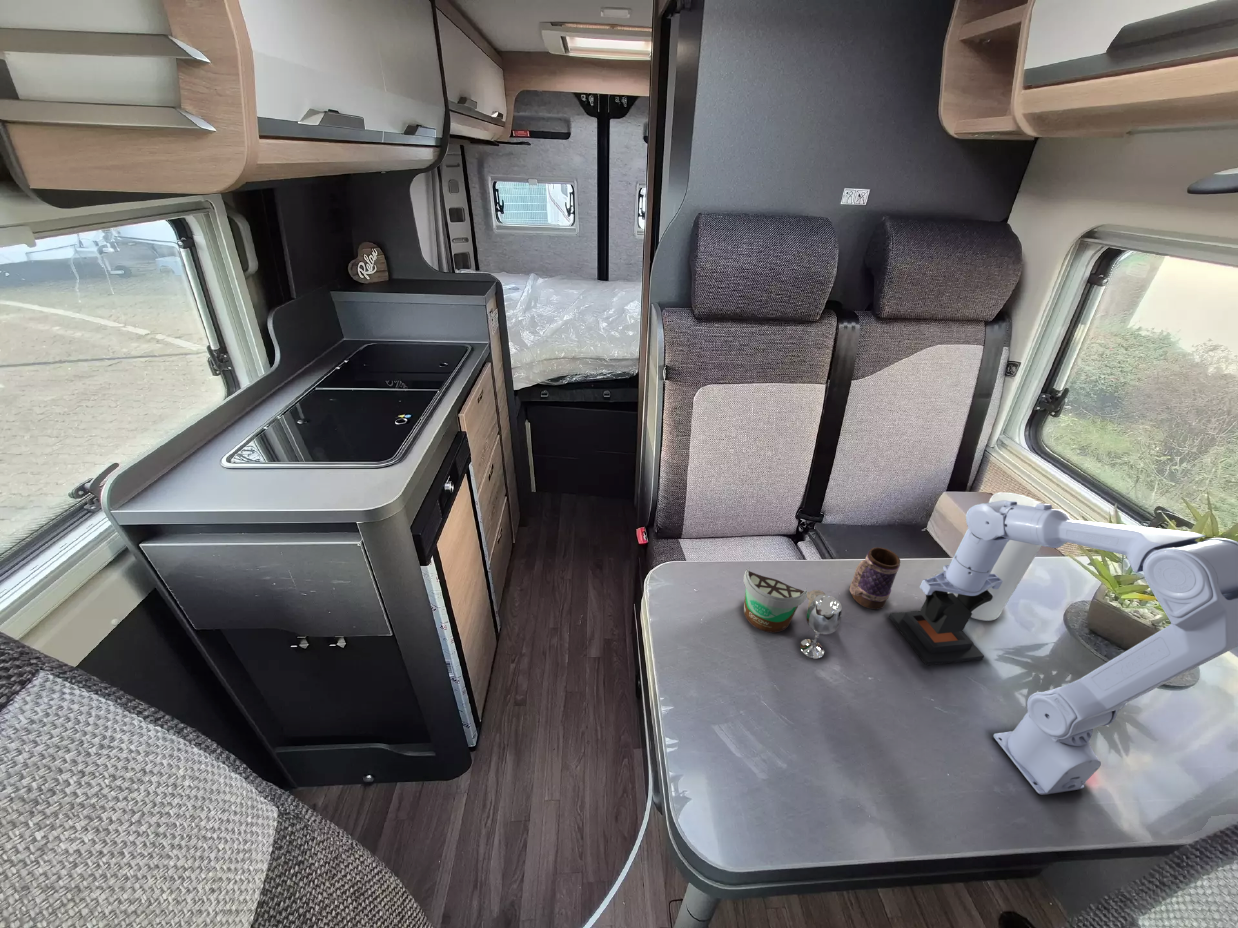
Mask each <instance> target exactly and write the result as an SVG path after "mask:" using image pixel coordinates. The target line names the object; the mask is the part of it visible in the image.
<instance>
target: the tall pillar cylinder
mask: <svg viewBox="0 0 1238 928" xmlns="http://www.w3.org/2000/svg"><path fill="white" fill-rule="evenodd" d="M1002 500H1007V501H1016V502H1017V504H1018V505H1026V506H1034V507H1036V505H1038V504H1043V502H1041V501H1038V500H1037V499H1034V498H1031V497H1029V496H1026V495H1023V494H1019V493H1015V492H1008V491H1005V492H1004V491H1000V492H996V493H994V494H992V495H991V497H990V498H989V501H988V503H989V502H995V501H1002ZM1041 548H1042V546H1040V545H1035V544H1030V543H1024V542H1019V541H1014V540H1009V542H1007V544H1006V546H1005V548H1004V549H1003V551H1002V553H1001V555H1000V556H999V558H998V560H997V562H996V564H995V565H994V567H993V569H992V571H991V573H990V574H996V575H997V576H998V577H999V578H1000V579H1001V580H1002V581H1003V582H1002V584H1001V585H1000V587H999V589H993V588H992V587H991V588H989V589H988V591H989V592H990V593H991V594H992V596H993V598H992V600H991V601H989V602H986V603H984V604H982V605H980V606H978V607H977V608H976V609H974V610H973V611H972V612H971V613H972V615H971V617H970V618H972V619H976V620H979V621H987V622H988V621H994V620H996V619H998V618H999V617H1000V616H1001V614H1002V612H1003V611H1004V609H1005V607H1006V606H1007V605H1008V603H1009V601H1010V599H1011V598H1012V596H1013V594H1014V593H1015V591H1016V589H1017V588H1018V586H1019V584H1020V582H1021V581H1022V579H1023V578H1024V576H1025V574H1026V572H1027V571H1028V570H1029V568H1030V566H1031V564H1032V563H1033V561H1034V559H1035V558H1036V556H1037V555H1038V553H1039V551H1040V549H1041ZM948 593H950V592H948ZM953 594H954V595H955V596H956V597H957V596H958V594H956V593H953Z"/></svg>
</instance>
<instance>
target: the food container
mask: <svg viewBox="0 0 1238 928" xmlns="http://www.w3.org/2000/svg"><path fill="white" fill-rule="evenodd" d="M743 584H744V586H745V593H744V603H743V615H744V616H745V618H746V620H747V621H748V623H750V624H751V626H753V627H754V628H756V629H758V630H759V631H763V632H767V633H779V632H782V631H783V632H784V630H786V629H787V628H788V627H789V626H790V624H791V622H792V620H793V618H794V616H795V614H796V612H797V610H798V608H799V606H801V605H802V604H803V603H804V602H805V601H806V600H807V599H808V598H807V592H808V590H807V588H805V589H804V590H802V589H800V588H796V587H793V586H791V585H789V584H786V583H785V582H783V581H780V580H778V579H776V578H772V577H768V576H764V575H761V574H759V573H755V572H753V571H750V567H747V569H746V570H745V572H744V574H743Z"/></svg>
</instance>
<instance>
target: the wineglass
mask: <svg viewBox="0 0 1238 928" xmlns="http://www.w3.org/2000/svg"><path fill="white" fill-rule="evenodd" d="M842 608H843V607H842V604H841V602H840V601H839V600H838V599H837V598H835V597H834V596H832V595H829V594H826V595H824V594H822V595H818V596H816V598H815V599H814V600H813V601H812V603H811V604H810V606H809V608H808V607H807V610H806V615H805V620H806V623H807V625H808V627H809V628H810V629H811V630H812V631H813V632H814V639H811V638H806V639H802V640H801V641H800V643H799V648H800V651H801V652H802V653H803V654H804V655H805V656H806V657H808V658H810V659H816V660H817V659H821V658H823V657H824V655H825V649H824V647H823V646H822V644H820V643H819V642H818V638H819V637H820V635H822V636H823V635H824V636H827V635H831V634H833V633H835V632H836V631H837V629H838V628H839V626H840V624H841V621H842V613H843V610H842Z"/></svg>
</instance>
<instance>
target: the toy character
mask: <svg viewBox="0 0 1238 928" xmlns="http://www.w3.org/2000/svg"><path fill="white" fill-rule="evenodd" d="M822 594H824V595H827V593H825V592H824V591H822V590H820V589H813V590H811V591H807V598H806V599H807V601H808V603H807V604H808V605H807V609H808V608H809V606H810V604H811V603H812V601H813V600H814V599H815V598H816V596H818V595H822Z"/></svg>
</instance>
